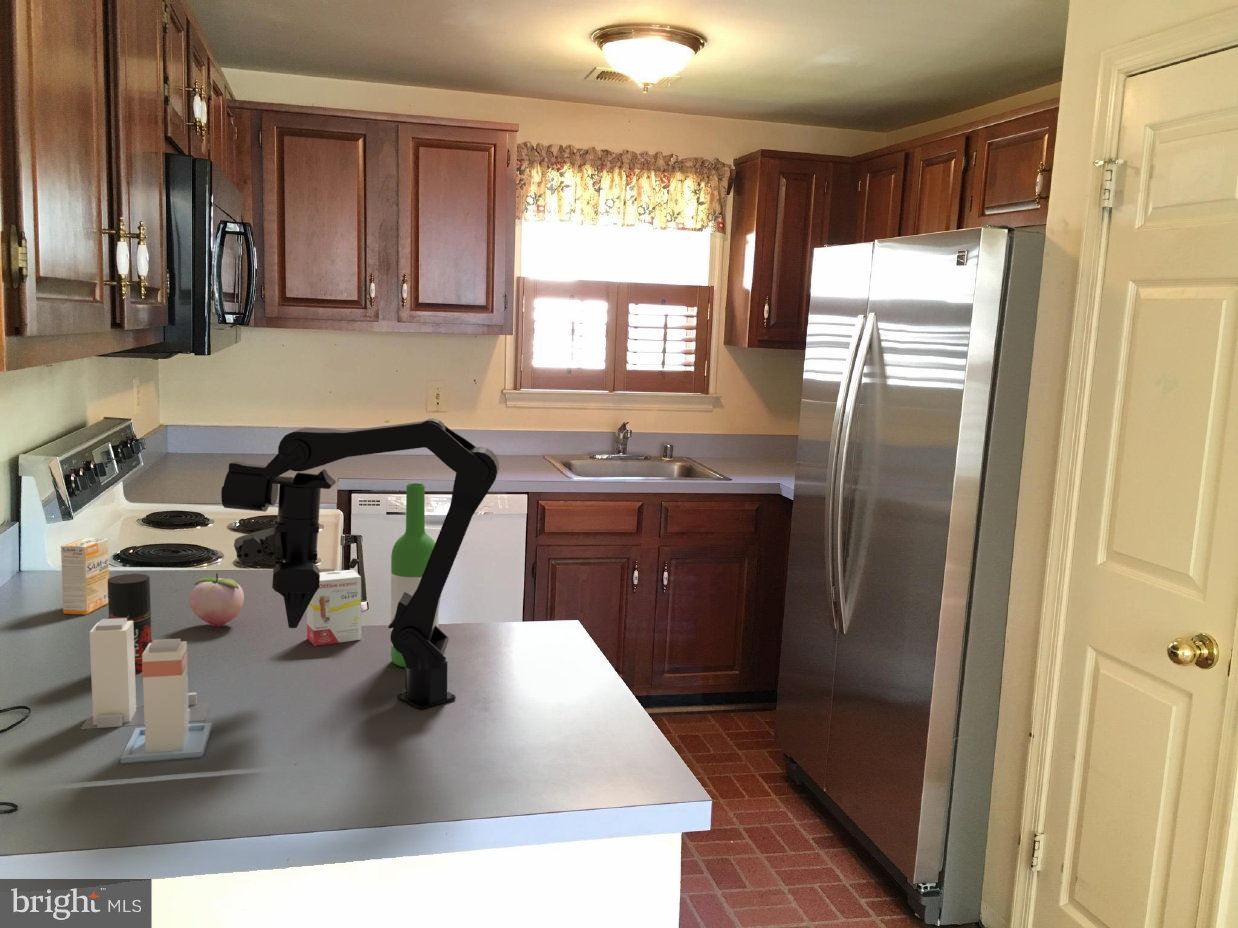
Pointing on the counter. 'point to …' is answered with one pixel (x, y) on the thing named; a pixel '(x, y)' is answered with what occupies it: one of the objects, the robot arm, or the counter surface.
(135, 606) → the deodorant
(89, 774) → the counter surface
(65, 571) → the supplement box
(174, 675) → the block
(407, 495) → the wine bottle
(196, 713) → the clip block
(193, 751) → the tray
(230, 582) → the decorative fruit
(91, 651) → the block
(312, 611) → the ink box
